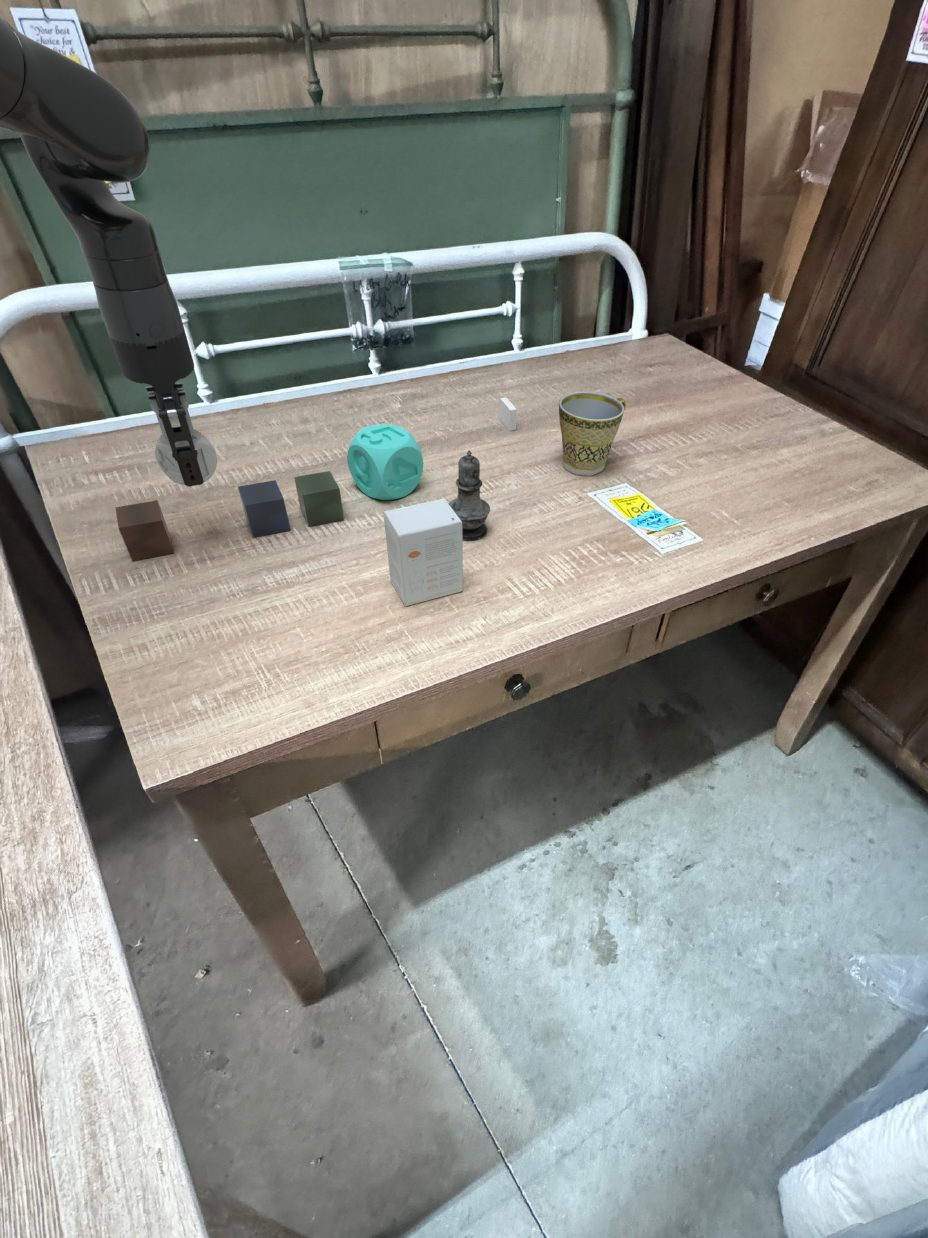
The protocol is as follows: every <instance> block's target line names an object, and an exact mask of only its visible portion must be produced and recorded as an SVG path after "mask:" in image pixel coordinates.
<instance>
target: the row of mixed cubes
mask: <svg viewBox="0 0 928 1238" xmlns="http://www.w3.org/2000/svg"><path fill="white" fill-rule="evenodd" d="M293 478H294V483H295V484H294V485H295V488H296V493H297V494H296V495H297V498H298V504H299V510H300V511H301V513H302V515H303V518H304V520H305V522H306V524H307V526H308V528H309V527H310V528H311V527H314V526H320V525H325V524H329V523H335V522H340V521H341V522H342V521H344V520H345V517H344V509H343V503H342V495H341V489H340V487H339V484H338V483H337V481H336V480H335V478H334V475H333V474H332V472H331V471H330V470H328V471H322V472H316V473H309V474H304V475H299V476H294V477H293ZM237 489H238V493H239V497H240V500H241V504H242V509H243V511H244V515H245V520H246V522H247V525H248V528H249V530H250V533H251V535H252V538H260V537H263V536H269V535H275V534H279V533H280V534H281V533H285V532H289V531H291V526H290V521H289V516H288V513H287V508H286V503H285V498H284V495H283V494H282V491H281V489H280V487H279V484H278V483H277V480H275V479H274V480H268V481H262V482H256V483H250V484H245V485H239V486H237ZM115 514H116V521H117V528H118V531H119V533H120V535H121V538H122V541H123V543H124V545H125V547H126V549H127V552H128V554H129V557H130V560H131V561H132V562H136V561H141V560H147V559H151V558H156V557H157V558H158V557H162V556H167V555H173V554H175V551H174V547H173V546H174V545H173V542H172V538H171V533H170V530H169V527H168V525H167V522H166V520H165V519H166V518H165V517H164V514H163V510H162V508H161V506H160V502H159V500H157V499H156V500H150V501H144V502H139V503H133V504H127V505H122V506H121V505H120V506H116V507H115Z"/></svg>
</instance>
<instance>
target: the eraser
mask: <svg viewBox="0 0 928 1238" xmlns="http://www.w3.org/2000/svg"><path fill="white" fill-rule="evenodd" d="M498 412H499V413H498V415H499V417H498V418H499V420H500V422H501V423H502V424H503V425H504V426H505V427H506V429H507V430H508V432H512V431H516V430H517V415H518V408H516V406H515V405H514V404H513V403H512V402H511V401H510V399H508V397H500V398H499V411H498Z"/></svg>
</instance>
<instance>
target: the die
mask: <svg viewBox="0 0 928 1238" xmlns="http://www.w3.org/2000/svg"><path fill="white" fill-rule="evenodd" d="M191 437H192V440H193V444H194V447H195V448H196V449H197V452H198V454H197V457H198V458H197V460H198V464H199V467H200V470H201V473H202V477H203V480H204V482H203V483H205V482H207V481H209V480H210V479H211V478H212V477H213V475H214V474H215V472H216V470H217V467H218V455H217V453H216V450H215V447H214V446H213V444H212V443H211V441H210V440H209V439H208V438H207V436H206V435H204V434H203V433H202V432H201V431H199V430H197V429H194V434H193V435H192V436H191ZM175 446H176V447H183V446H190V445H189V442H188V441H179V442H175ZM171 451H172V449H171V446H170V443H169V440H168V438H165V437H164V436H163V434H162V433H161V435H160V437H159V438H158V440H157V441H156V444H155V447H154V455H155V458H156V461H157V464H158V466H159V467H160V469H161V471H162V472H163V473H164V475H165V476H166V477H167V478H168V479H170V480H171V481H172V482H173V483H176V484H178V485H182V486H186V485H185V484H184V481H183V478H182V475H181V472H180V469H179V466H178V463H177V461H175V458H173V457H172V452H171Z"/></svg>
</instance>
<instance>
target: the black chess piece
mask: <svg viewBox="0 0 928 1238" xmlns="http://www.w3.org/2000/svg"><path fill="white" fill-rule="evenodd" d="M472 454H473V452H471V450H470V449H469V450H467V452H466V455H462V457H460V458H459V460H458V464H457V465H458V467H457V468H458V470H457V471H458V473H457V474H458V478H457V479H456V480H455V486H456V487H457V497H456V498H454V499H453V500H451V501H450V502H449V503H448V504H449V505H450V507H451V508H452V509H453V511H454V512H455V513H456V515H457V516H458V517H459V519H460V520H461V521H462V537H463V541H465V542H474V541H478V540H481V539H483V538H485V537H486V536H487V534H488V527H487V525H486V524H485V523H486V520H487V518H488V516H489V514H490V512H491V506H490V505H489V503H488V501H486V500H484V499H483V498H481V488H482V487H483V481H482V480H481V479H480V478H481V477H480V475H481V463H480V460H479V459H478V457H476V456H474V455H472Z"/></svg>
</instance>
